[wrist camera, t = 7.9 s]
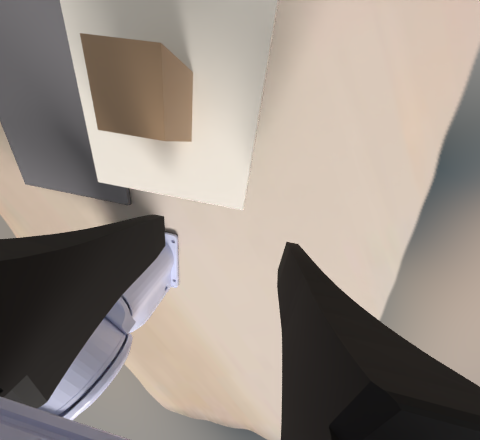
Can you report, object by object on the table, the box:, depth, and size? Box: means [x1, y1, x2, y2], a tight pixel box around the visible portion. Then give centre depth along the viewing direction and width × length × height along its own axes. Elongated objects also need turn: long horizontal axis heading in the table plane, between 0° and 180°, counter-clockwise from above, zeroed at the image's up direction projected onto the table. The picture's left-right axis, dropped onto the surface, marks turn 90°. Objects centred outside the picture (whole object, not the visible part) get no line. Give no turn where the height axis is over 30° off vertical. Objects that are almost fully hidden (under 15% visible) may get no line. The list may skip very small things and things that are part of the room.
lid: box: [60, 0, 279, 210], centre depth 11 cm, size 13×13×4 cm
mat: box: [0, 0, 131, 205], centre depth 19 cm, size 18×15×1 cm
